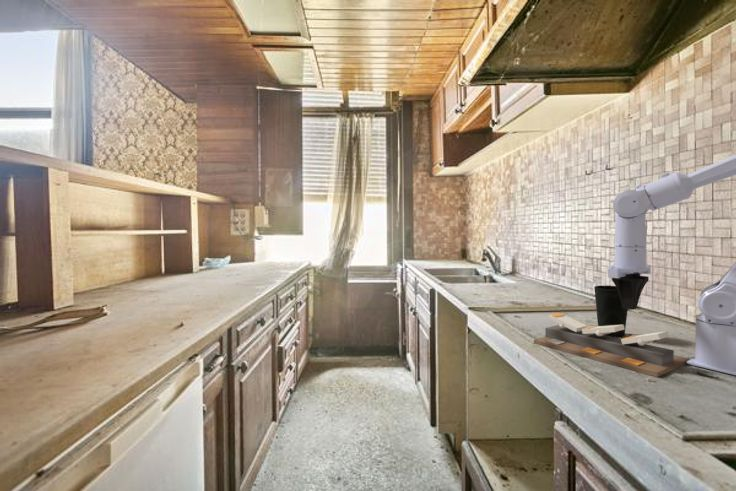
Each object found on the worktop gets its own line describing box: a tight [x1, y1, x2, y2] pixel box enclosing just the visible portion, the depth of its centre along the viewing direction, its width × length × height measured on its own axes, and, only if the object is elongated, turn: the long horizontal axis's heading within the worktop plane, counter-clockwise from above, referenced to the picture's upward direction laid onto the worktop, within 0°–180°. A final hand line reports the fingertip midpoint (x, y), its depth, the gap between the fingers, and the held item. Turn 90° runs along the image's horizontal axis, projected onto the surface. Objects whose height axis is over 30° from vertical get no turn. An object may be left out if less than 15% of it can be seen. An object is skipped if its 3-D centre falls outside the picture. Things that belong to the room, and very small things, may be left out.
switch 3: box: [620, 330, 670, 346], centre depth 76 cm, size 7×4×2 cm, turn 31°
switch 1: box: [548, 312, 588, 332], centre depth 90 cm, size 7×4×2 cm, turn 31°
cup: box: [593, 285, 629, 338], centre depth 96 cm, size 8×8×12 cm
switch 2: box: [582, 325, 626, 336], centre depth 83 cm, size 7×4×2 cm, turn 31°
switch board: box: [533, 324, 690, 378], centre depth 82 cm, size 25×14×3 cm, turn 31°
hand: (629, 308), depth 82 cm, fingers closed
